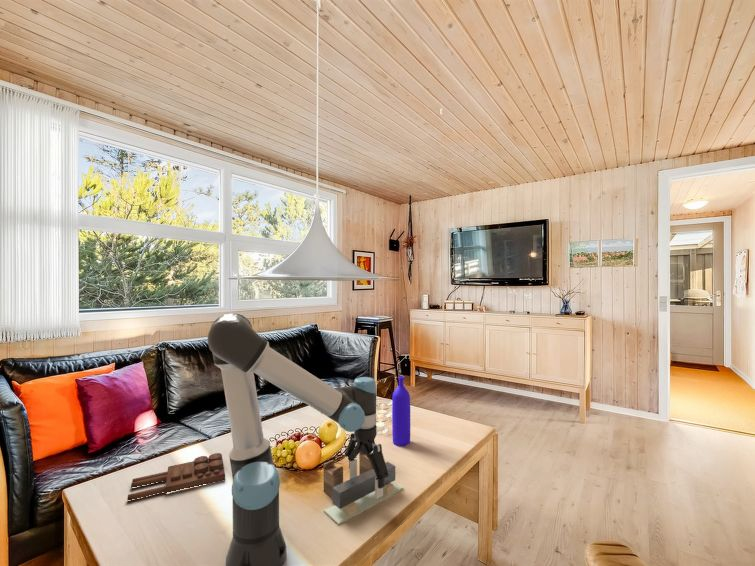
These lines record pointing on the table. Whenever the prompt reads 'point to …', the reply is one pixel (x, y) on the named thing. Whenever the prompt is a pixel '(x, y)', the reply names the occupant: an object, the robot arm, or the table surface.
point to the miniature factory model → (183, 476)
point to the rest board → (361, 504)
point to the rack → (335, 475)
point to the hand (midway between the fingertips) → (365, 487)
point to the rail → (359, 486)
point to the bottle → (401, 415)
